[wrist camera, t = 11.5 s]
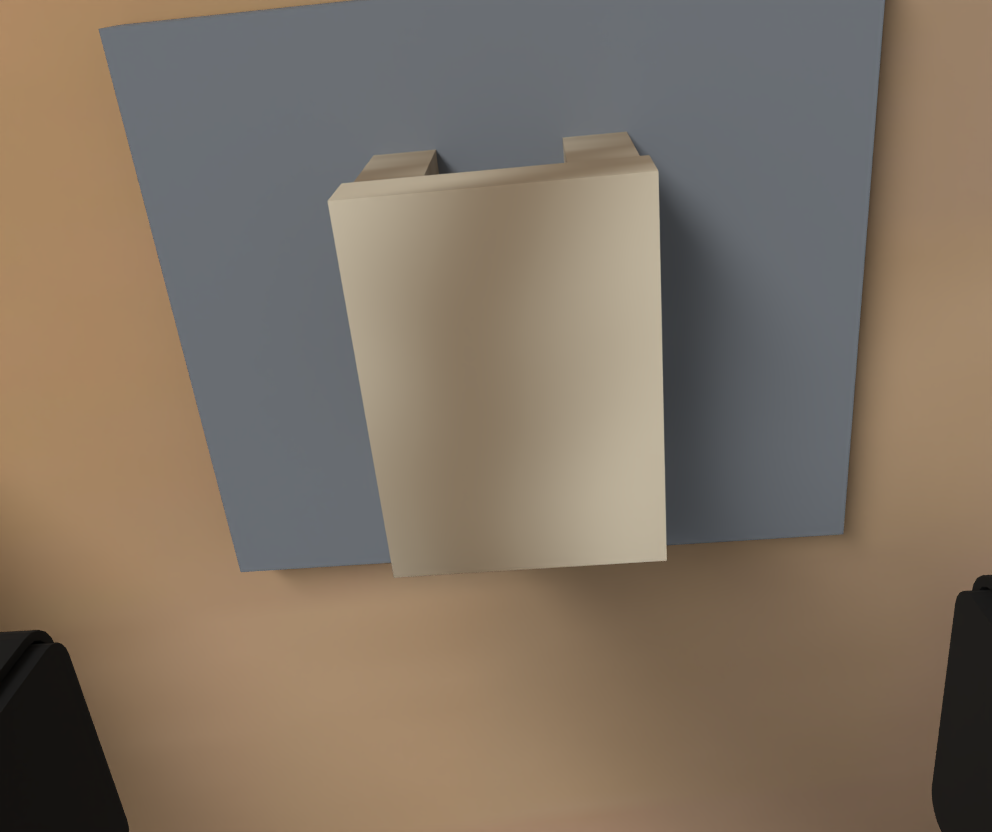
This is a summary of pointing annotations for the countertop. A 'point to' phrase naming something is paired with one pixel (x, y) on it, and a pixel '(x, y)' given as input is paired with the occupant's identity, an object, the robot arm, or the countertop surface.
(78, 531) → the countertop surface
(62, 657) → the robot arm
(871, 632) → the countertop surface
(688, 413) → the slate mat
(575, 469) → the beige tabbed block
